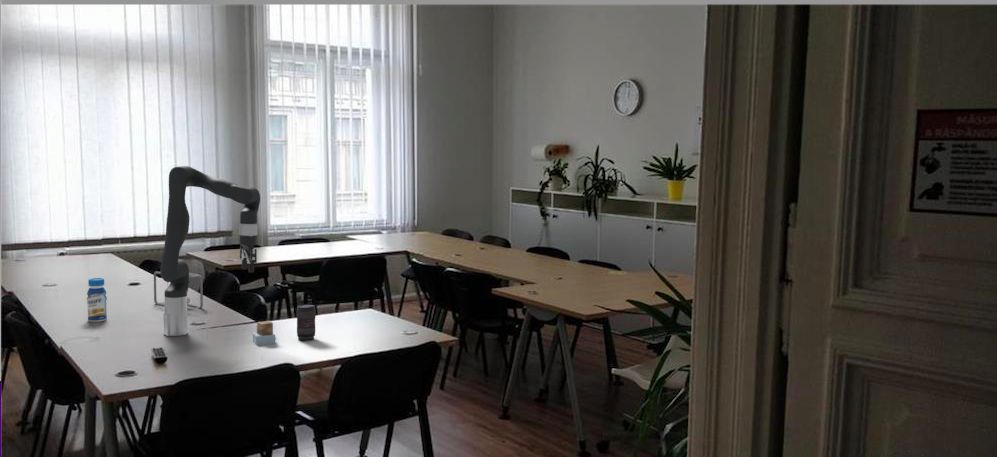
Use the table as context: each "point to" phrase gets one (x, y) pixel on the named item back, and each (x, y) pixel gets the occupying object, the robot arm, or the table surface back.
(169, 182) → the robot arm
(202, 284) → the newton's cradle
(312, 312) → the camera lens
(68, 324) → the table surface
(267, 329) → the walnut cube
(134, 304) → the table surface
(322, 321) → the table surface
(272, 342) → the slate base block
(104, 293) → the beverage bottle
